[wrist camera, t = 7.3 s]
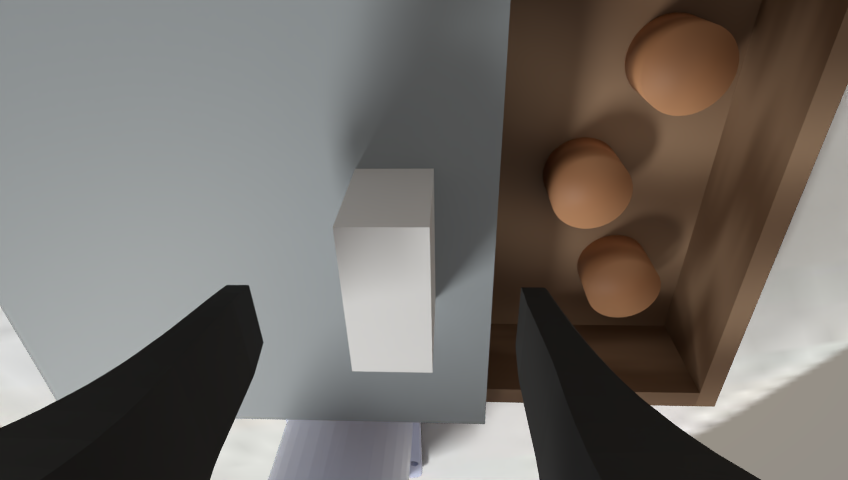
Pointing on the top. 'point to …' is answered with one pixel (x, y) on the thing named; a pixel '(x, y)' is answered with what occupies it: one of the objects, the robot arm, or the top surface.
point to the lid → (259, 191)
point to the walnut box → (656, 174)
